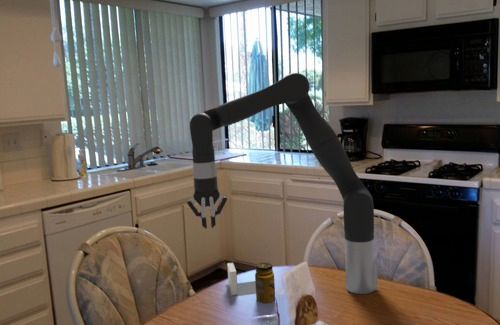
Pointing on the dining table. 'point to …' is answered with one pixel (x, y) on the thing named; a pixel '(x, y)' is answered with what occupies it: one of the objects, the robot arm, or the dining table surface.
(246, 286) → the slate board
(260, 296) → the condiment
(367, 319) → the dining table surface
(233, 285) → the tile
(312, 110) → the robot arm
